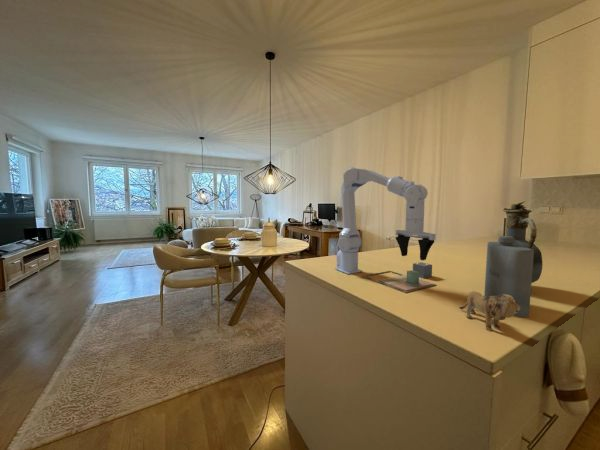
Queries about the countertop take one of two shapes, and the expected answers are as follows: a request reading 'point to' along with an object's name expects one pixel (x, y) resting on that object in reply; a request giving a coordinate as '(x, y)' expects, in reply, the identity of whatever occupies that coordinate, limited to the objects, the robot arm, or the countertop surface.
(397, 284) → the board
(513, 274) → the flask
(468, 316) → the lion figurine
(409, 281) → the teal flanged knob
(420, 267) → the die
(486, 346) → the countertop surface
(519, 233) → the pitcher
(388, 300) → the countertop surface
